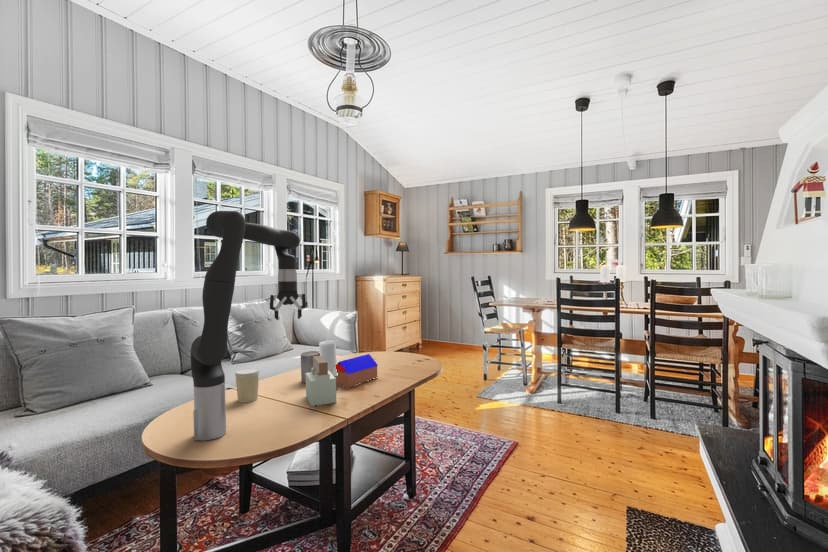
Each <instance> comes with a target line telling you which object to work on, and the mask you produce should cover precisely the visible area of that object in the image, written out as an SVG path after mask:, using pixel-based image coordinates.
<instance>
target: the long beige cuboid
mask: <svg viewBox="0 0 828 552" xmlns="http://www.w3.org/2000/svg"><path fill="white" fill-rule="evenodd" d="M328 364H329V362H328V361H327V360H326V359H325V358H324V357H323V356H322V355H321V356H313V368H314V369H315V371H316V372H317V373H318V375H319V376H320V375H328V370H329V365H328Z"/></svg>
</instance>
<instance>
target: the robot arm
mask: <svg viewBox="0 0 828 552" xmlns="http://www.w3.org/2000/svg"><path fill="white" fill-rule="evenodd" d="M205 222H206V223H205V224H206V225H205V226H206V228H207V231H208V233H210V234H211V235H212V236H213V237H216V238H221V245H220V249H219V251H218V254H217V256H216V258H215V259H214V260H213V261H212V263H211V264H210V266H209V268H208V269H207V271H206V273H205V275H204V280H203V287H202V297H201V298H202V309H203V317H204V318H203V328H202V332H201V335H200V336H197V337H196V338H195V339H194V340H193V341H192V343H191V346H190V367H191V369H190V370H191V377H192V381H193V405H194V407H193V413H192V414H193V416H192V417H193V441H203V442H204V441H212V440H215V439H218V438H221V437H223V436H224V435H225V434H227V414H226V376H225V372H224V369H223V366H222V361H223V360H224V359H225V357H226V354H227V350H228V330H229V319H230V314H231V308H232V304H233V296H234V293H235V292H234V291H235V285H236V284H235V283H236V278H237V277H236V275H237V269H238V264H239V258H240V254H241V250H242V249H241V248H242V245H243V242H244V240H246V241H251V242H254V243H259V244H263V245H267V246H270V247H271V246H272V247H274V250H275V253H276V257H277V261H278V262H277V264H278V265H277V266H278V270H277V271H278V272H277V290H278V291H277V294H276V295H275V294H270V296H269V309H270V310H272V311H274V319H275V320H276V321H279V320H280V319H279V318H280V317H279V309H280V308H281V307H282V306H283V305H284V306H288V305H290V306H293V305H295V307H296V308H297V319H298V320H300V319H301V318H302V316H303V314H302V310H303V309H306V308H307V301H306V300H307V299H306V294H305V293H301V294H298V272H297V258H296V256H295V255H292V254H289V251H288V250H293V249H297V248H298V247H299V246H300V244H301V239H300V236H299V235H298V234H297V232H295V231H292V230H284V229H279V228H275V227H272V226H268V225H265V224H260V223H251V222H246V218H245V217H244V214H242V213H241V212H239V211H238V210H237V211H236V210H216V211H213V212H211V213H210V214H209V215H208V216H207V218H206V221H205ZM276 298H277V300H278V301H279V302H278V303H277V304H276V306H274V301H276ZM299 298H300V299H301V305H300V304H299V303H298V302H297V300H298V299H299Z"/></svg>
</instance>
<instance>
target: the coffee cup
mask: <svg viewBox="0 0 828 552" xmlns="http://www.w3.org/2000/svg"><path fill="white" fill-rule="evenodd" d="M234 375H235V376H234V377H235V384H236V385H235V386H236V393H237V402H239V403H250V402H254V401H257V399H259V398H258V397H259V380H260V379H259V375H260V371H259V369H258V368H244V369H240V370H237V371H236V372H235V374H234Z"/></svg>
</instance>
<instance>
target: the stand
mask: <svg viewBox="0 0 828 552" xmlns="http://www.w3.org/2000/svg"><path fill="white" fill-rule="evenodd" d="M305 397H306V399H307V401H308V402H310V403H309V405H310V407H315V405H317V406H323V404H324V405H331V404H336V403H337V385H336V378H335V377H334V376H333V374H332V371H331V370H329V369H328V375H320V376H319V375H318V373H317V372H316V371H315V369H314V368H311V373H306V383H305Z"/></svg>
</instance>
